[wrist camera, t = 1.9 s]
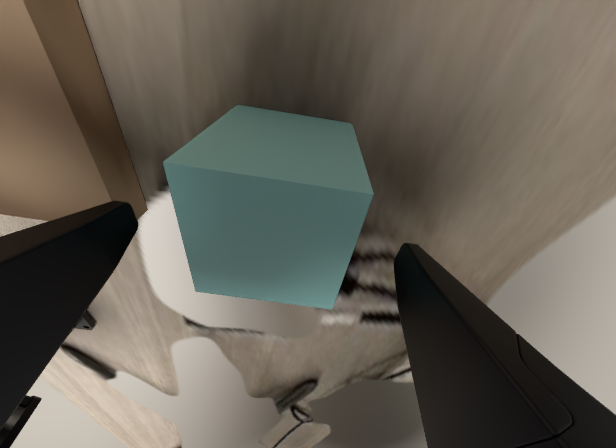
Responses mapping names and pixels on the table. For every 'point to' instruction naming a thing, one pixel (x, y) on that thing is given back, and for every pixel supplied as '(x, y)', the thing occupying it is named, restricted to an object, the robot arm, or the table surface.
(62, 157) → the base plinth
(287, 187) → the teal block
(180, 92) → the table surface
